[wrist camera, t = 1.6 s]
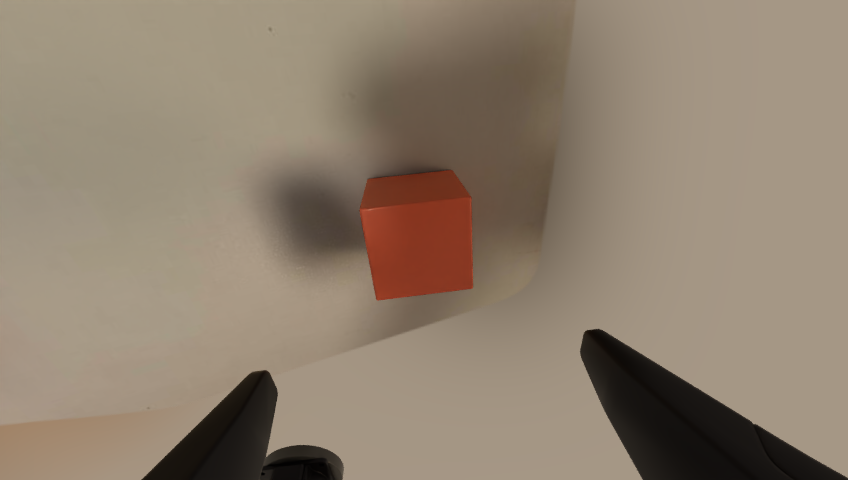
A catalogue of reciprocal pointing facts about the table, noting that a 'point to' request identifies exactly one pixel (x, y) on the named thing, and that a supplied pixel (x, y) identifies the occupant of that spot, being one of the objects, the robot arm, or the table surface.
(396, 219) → the terracotta block
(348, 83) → the table surface
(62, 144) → the table surface
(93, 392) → the table surface
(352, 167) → the table surface
